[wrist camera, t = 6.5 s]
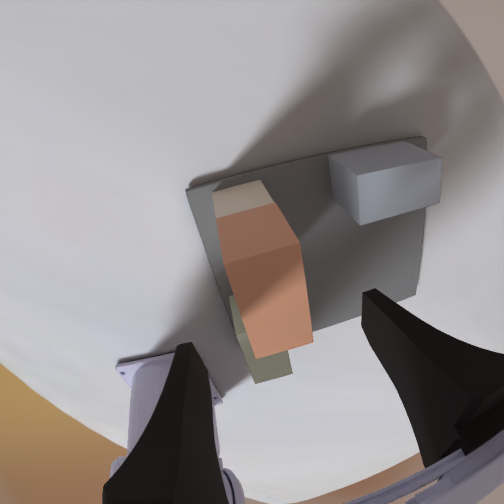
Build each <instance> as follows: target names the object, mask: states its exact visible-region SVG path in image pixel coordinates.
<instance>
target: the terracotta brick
mask: <svg viewBox="0 0 504 504" xmlns="http://www.w3.org/2000/svg"><path fill="white" fill-rule="evenodd" d="M216 222H217V228H218V234H219V240H220V246H221V252H222V258H223V264H224V267H225V270H226V273H227V276H228V279H229V282H230V285H231V288H232V291H233V294H234V297H235V300H236V303H237V306H238V309H239V312H240V315H241V318H242V320H243V323H244V326H245V329H246V332H247V335H248V338H249V341H250V343H251V346H252V349H253V352H254V355H255V358H256V359H258V358H262V357H265V356H269V355H273V354H276V353H280V352H283V351H286V350H290V349H293V348H296V347H300V346H303V345H306V344H309V343H313V333H312V325H311V317H310V310H309V302H308V295H307V287H306V280H305V273H304V267H303V260H302V253H301V247H300V242H299V240H298V239H297V237H296V235H295V234H294V232H293V230H292V229H291V227H290V225H289V224H288V222H287V220H286V219H285V217H284V215H283V214H282V212H281V210H280V209H279V207H278V206H277V204H276V202H275V203H271V204H267V205H263V206H260V207H256V208H252V209H249V210H245V211H241V212H238V213H234V214H231V215H227V216H223V217H220V218H216Z"/></svg>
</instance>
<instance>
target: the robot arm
mask: <svg viewBox="0 0 504 504" xmlns="http://www.w3.org/2000/svg"><path fill="white" fill-rule="evenodd" d="M361 326H362V328H363V331H364V333H365V335H366V337H367V339H368V342H369V344H370V346H371V347H372V349H373V351H374V352H375V354H376V356H377V357H378V359H379V361H380V362H381V364H382V366H383V367H384V369H385V370H386V372H387V374H388V375H389V377H390V379H391V380H392V382H393V384H394V386H395V388H396V389H397V391H398V394H399V396H400V398H401V400H402V403H403V405H404V407H405V410H406V412H407V415H408V418H409V420H410V423H411V425H412V428H413V431H414V434H415V437H416V440H417V443H418V446H419V450H420V453H421V456H422V460H423V464H424V466H425V469H423V470H421V471H420V472H417V473H416V474H413V475H412V476H409V477H407V478H405V479H403V480H401V481H399V482H397V483H395V484H392V485H390V486H388V487H385V488H383V489H381V490H378V491H376V492H373V493H371V494H368V495H366V496H363V497H360V498H358V499H355V500H352V501H349V502H347V503H344V504H388V503H390V502H392V501H394V500H397V499H399V498H401V497H403V496H405V495H408V494H410V493H412V492H414V491H416V490H418V489H420V488H422V487H424V486H426V485H427V484H429V483H431V482H433V481H435V480H437V479H438V478H439V479H438V481H437V482H436V483H435V484H433V485H431V486H430V487H428V488H426V489H425V490H423V491H421V492H419V493H418V494H416V495H415V496H414V497H413V498H411V499H410V500H408V501H407V502H405V504H476V503H478V502H479V501H480V500H482V499H483V498H484V497H486V496H487V495H488V494H490V493H491V492H492V491H493V490H495V489H496V488H497V487H499V486H500V485H501V484H502V483H503V482H504V354H501V353H497V352H493V351H489V350H486V349H482V348H479V347H476V346H473V345H471V344H468V343H466V342H463V341H461V340H458V339H456V338H454V337H452V336H450V335H448V334H446V333H444V332H441V331H440V330H438V329H436V328H434V327H432V326H431V325H429V324H427V323H426V322H424V321H422V320H421V319H419V318H418V317H416V316H415V315H413V314H412V313H410V312H409V311H407V310H406V309H404V308H403V307H401V306H400V305H398V304H397V303H396V302H394V301H393V300H391V299H390V298H389V297H387V296H386V295H384V294H383V293H382V292H380V291H379V290H377V289H376V288H374V289H371V290H368V291H365V292H362V320H361ZM115 370H116V371H117V373H118V374H119V375H120V376H121V377H122V378H123V380H124V381H125V382H126V383H127V384H128V385H129V387H130V388H131V398H130V412H129V428H128V452H127V456H126V457H122V456H119V457H118V459H116V460H114V461H113V462H112V465H111V472H110V479H109V480H108V481H107V482H106V483H105V485H104V487H103V494H102V502H103V503H102V504H245V497H244V492H243V488H242V486H241V483H240V481H239V480H238V479H237V477H236V476H235V474H234V473H233V472H232V471H231V470H229V469H226V468H223V464H222V459H221V458H219V454H220V446H219V439H218V432H217V424H216V416H215V408H214V406H215V405H220V404H222V403H223V401H222V398H221V396H220V395H219V393H218V391H217V389H216V388H215V386H214V384H213V383H212V381H211V379H210V378H209V376H208V371H207V369H206V367H205V365H204V364H203V362H202V360H201V358H200V356H199V355H198V353H197V351H196V349H195V347H194V345H193V343H192V342H189V343H185V344H181V345H178V346H177V347H176V350H175V353H170V354H166V355H161V356H156V357H151V358H147V359H142V360H137V361H131V362H126V363H121V364H117V365H116V366H115Z"/></svg>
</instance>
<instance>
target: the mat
mask: <svg viewBox="0 0 504 504" xmlns="http://www.w3.org/2000/svg"><path fill="white" fill-rule="evenodd" d="M404 141H406V142H408V143H410V144H413V145H415V146H417V147H419V148H422V149H424V150H426V138H425V137H422V136H421V137H415V138H408V139H402V140H395V141H389V142H383V143H378V144H372V145H367V146H361V147H356V148H351V149H346V150H341V151H336V152H331V153H326V154H321V155H317V156H312V157H307V158H303V159H299V160H294V161H290V162H286V163H281V164H277V165H273V166H269V167H265V168H261V169H257V170H253V171H249V172H245V173H242V174H238V175H234V176H230V177H227V178H223V179H219V180H216V181H212V182H209V183H205V184H202V185H198V186H195V187H192V188H188V189H186V195H187V198H188V201H189V204H190V207H191V210H192V213H193V216H194V219H195V222H196V225H197V228H198V231H199V234H200V237H201V239H202V242H203V245H204V248H205V251H206V254H207V257H208V259H209V262H210V265H211V268H212V271H213V274H214V276H215V279H216V282H217V285H218V287H219V290H220V293H221V296H222V298H223V301H224V304H225V306H226V309H227V312H228V315H229V317H230V320H231V322H232V325H233V328H234V330H235V327H234V322H233V316H232V311H231V305H230V300H229V296H231V295H234V294H233V291H232V288H231V285H230V282H229V279H228V276H227V273H226V270H225V267H224V264H223V258H222V252H221V246H220V240H219V234H218V228H217V222H216V216H215V210H214V203H213V197H212V192H215V191H219V190H222V189H226V188H230V187H233V186H237V185H241V184H245V183H248V182H252V181H256V180H261V182H262V183H263V185H264V187H265V188H266V190H267V192H268V193H269V195H270V197H271V198H272V200H273V201H274V203H275V202H276V204H277V206H278V207H279V209H280V210H281V212H282V214H283V215H284V217H285V219H286V220H287V222H288V224H289V225H290V227H291V229H292V230H293V232H294V234H295V235H296V237H297V239H298V240H299V242H300V247H301V253H302V260H303V267H304V273H305V280H306V287H307V295H308V302H309V310H310V317H311V325H312V332H313V331H316V330H320V329H323V328H326V327H329V326H332V325H335V324H338V323H341V322H344V321H347V320H350V319H353V318H355V317H358V316H361V315H362V292H365V291H368V290H371V289H374V288H376V289H377V290H379V291H380V292H382V293H383V294H384V295H386V296H387V297H389V298H390V299H391V300H393V301H394V302H399V301H401V300H404V299H407V298H409V297H412V296H414V295H416V289H417V282H418V276H419V268H420V260H421V252H422V242H423V231H424V219H425V207H424V208H420V209H417V210H413V211H410V212H406V213H403V214H399V215H396V216H392V217H388V218H385V219H381V220H378V221H374V222H371V223H367V224H364V225H359V224H358V223H357V222H356V221H355V220H354V219H353V218H352V217H351V216H350V215H349V214H348V213H347V212H346V211H345V210H344V209H343V208H342V207H341V206H340V205H339V204H338V203H337V202H336V201H335V200H334V199H333V194H332V185H331V176H330V168H329V160H328V156H329V155H334V154H338V153H343V152H348V151H353V150H359V149H364V148H369V147H375V146H380V145H386V144H392V143H398V142H404ZM426 151H427V150H426ZM235 333H236V332H235Z"/></svg>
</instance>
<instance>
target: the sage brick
mask: <svg viewBox="0 0 504 504" xmlns="http://www.w3.org/2000/svg"><path fill="white" fill-rule="evenodd" d="M229 300H230V305H231V311H232V316H233V322H234V327H235V332H236V336H237V339H238V342H239V344H240V347H241V349H242V352H243V355H244V357H245V360H246V362H247V365H248V367H249V370H250V372H251V375H252V377H253V380H254V382H255V384H257V383H261V382H265V381H268V380H272V379H276V378H279V377H283V376H286V375H290V374H293V372H292V368H291V363H290V359H289V354H288V350H286V351H283V352H280V353H276V354H273V355H269V356H265V357H262V358H258V359H256V358H255V355H254V352H253V349H252V346H251V343H250V341H249V338H248V335H247V332H246V329H245V326H244V323H243V320H242V318H241V315H240V312H239V309H238V306H237V303H236V300H235V297H234V295H231V296H229Z"/></svg>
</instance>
